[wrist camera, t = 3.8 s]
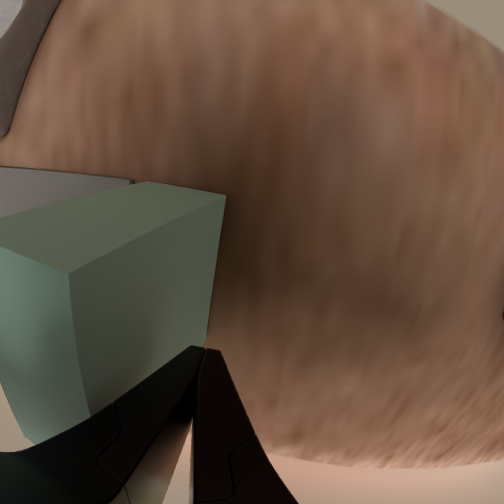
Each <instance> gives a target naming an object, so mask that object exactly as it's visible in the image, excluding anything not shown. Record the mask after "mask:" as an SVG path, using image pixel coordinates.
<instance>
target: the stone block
mask: <svg viewBox="0 0 504 504" xmlns="http://www.w3.org/2000/svg"><path fill="white" fill-rule="evenodd" d="M60 1H61V0H0V137H2V136H3V135H5V134H6V133H7V132H8V129H9V127H10V124H11V121H12V118H13V114H14V111H15V108H16V104H17V101H18V98H19V95H20V92H21V89H22V86H23V83H24V80H25V77H26V75H27V72H28V69H29V67H30V64H31V62H32V59H33V56H34V54H35V52H36V50H37V47H38V45H39V42H40V40H41V38H42V36H43V34H44V32H45V30H46V28H47V25H48V22H49V20H50V18H51V16H52V14H53V12H54V10H55V9H56V7H57V6H58V4H59V2H60Z"/></svg>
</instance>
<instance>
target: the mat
mask: <svg viewBox="0 0 504 504" xmlns="http://www.w3.org/2000/svg"><path fill="white" fill-rule="evenodd" d="M131 184H133V179H127V178H119V177H111V176H102V175H93V174H84V173H75V172H65V171H55V170H44V169H32V168H19V167H5V166H0V218H2V217H5V216H8V215H12V214H15V213H18V212H22V211H25V210H29V209H32V208H36V207H39V206H43V205H47V204H50V203H54V202H58V201H62V200H66V199H70V198H74V197H78V196H82V195H86V194H90V193H94V192H99V191H103V190H108V189H112V188H117V187H122V186H126V185H131Z"/></svg>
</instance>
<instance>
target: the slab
mask: <svg viewBox="0 0 504 504" xmlns="http://www.w3.org/2000/svg"><path fill="white" fill-rule="evenodd" d="M225 201H226V195H222V194H217V193H212V192H207V191H201V190H196V189H190V188H185V187H179V186H174V185H168V184H162V183H156V182H150V181H146V182H141V183H136V184H131V185H126V186H122V187H117V188H112V189H108V190H103V191H99V192H94V193H90V194H86V195H82V196H78V197H74V198H70V199H66V200H62V201H58V202H54V203H50V204H47V205H43V206H39V207H36V208H32V209H29V210H25V211H22V212H18V213H15V214H12V215H8V216H5V217H2V218H0V383H1V385H2V388H3V391H4V393H5V395H6V398H7V400H8V403H9V405H10V407H11V409H12V412H13V414H14V416H15V418H16V420H17V422H18V424H19V426H20V428H21V430H22V432H23V434H24V436H25V437H26V438H27V439H29V440H30V441H32V442H33V443H34V444H35V445H37V444H39V443H41V442H43V441H45V440H47V439H49V438H51V437H53V436H55V435H58V434H60V433H62V432H64V431H66V430H68V429H70V428H72V427H73V426H75V425H77V424H79V423H81V422H82V421H84V420H86V419H88V418H89V417H91V416H92V415H94V414H96V413H97V412H99V411H100V410H102V409H103V408H105V407H106V406H107V405H109V404H110V403H113V401H115V400H116V399H117V398H119V397H120V396H122V395H123V394H124V393H126V392H127V391H129V390H130V389H131V388H133V387H134V386H136V385H137V384H138V383H140V382H141V381H143V380H144V379H145V378H147V377H148V376H149V375H151V374H152V373H153V372H155V371H156V370H158V369H159V368H160V367H162V366H163V365H164V364H166V363H167V362H168V361H170V360H171V359H172V358H174V357H175V356H177V355H178V354H179V353H181V352H182V351H183V350H185V349H186V348H187V347H189V346H190V345H195V346H200V347H202V346H203V344H204V342H205V341H206V333H207V325H208V318H209V310H210V303H211V295H212V288H213V281H214V274H215V267H216V260H217V253H218V246H219V240H220V233H221V227H222V220H223V214H224V207H225Z"/></svg>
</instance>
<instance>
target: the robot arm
mask: <svg viewBox="0 0 504 504" xmlns="http://www.w3.org/2000/svg"><path fill="white" fill-rule="evenodd" d="M192 420H193V423H192ZM191 423H192V438H191V459H190V484H189V504H299V503H298V502H297V501H296V499H295V498H294V497H293V495H292V494H291V492H290V491H289V490H288V488H287V487H286V485H285V484H284V483H283V481H282V480H281V478H280V477H279V475H278V474H277V472H276V471H275V469H274V468H273V466H272V464H271V463H270V461H269V459H268V457H267V456H266V454H265V452H264V450H263V448H262V446H261V444H260V442H259V439H258V437H257V435H255V431H254V429H253V426H252V424H251V422H250V420H249V417H248V415H247V413H246V411H245V408H244V406H243V404H242V401H241V399H240V397H239V394H238V392H237V390H236V387H235V385H234V382H233V380H232V378H231V375H230V373H229V370H228V368H227V365H226V363H225V361H224V358H223V356H222V353H221V351H220V350H215V349H210V348H207V349H205V348H204V347H200V346H195V345H190V346H189V347H187V348H186V349H185V350H183V351H182V352H181V353H179V354H178V355H177V356H175V357H174V358H172V359H171V360H170V361H168V362H167V363H166V364H164V365H163V366H162V367H160V368H159V369H158V370H156V371H155V372H153V373H152V374H151V375H149V376H148V377H147V378H145V379H144V380H143V381H141V382H140V383H138V384H137V385H136V386H134V387H133V388H131V389H130V390H129V391H127V392H126V393H124V394H123V395H122V396H120V397H119V398H117V399H116V400H115V401H113V403H110V404H109V405H107V406H106V407H105V408H103V409H102V410H100V411H99V412H97V413H96V414H94V415H92V416H91V417H89V418H88V419H86V420H84V421H82V422H81V423H79V424H77V425H75V426H73V427H72V428H70V429H68V430H66V431H64V432H62V433H60V434H58V435H55V436H53V437H51V438H49V439H47V440H45V441H43V442H41V443H39V444H37V445H35V446H32V447H30V448H28V449H24V450H21V451H16V452H0V504H162V502H163V500H164V497H165V494H166V491H167V489H168V486H169V484H170V481H171V478H172V475H173V473H174V470H175V467H176V464H177V462H178V459H179V456H180V454H181V451H182V448H183V445H184V443H185V440H186V437H187V435H188V432H189V429H190V426H191Z"/></svg>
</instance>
